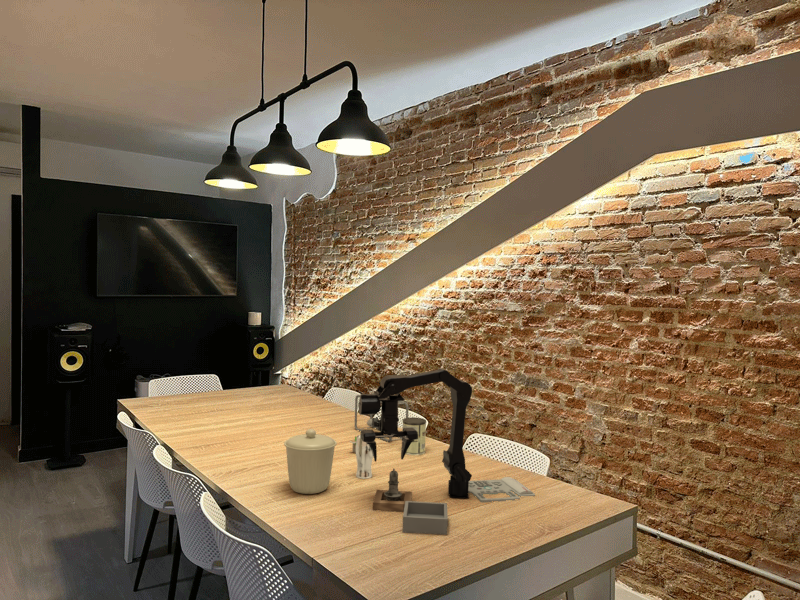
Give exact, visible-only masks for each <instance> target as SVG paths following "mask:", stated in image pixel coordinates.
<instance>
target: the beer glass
mask: <svg viewBox="0 0 800 600" xmlns="http://www.w3.org/2000/svg"><path fill="white" fill-rule="evenodd" d="M355 457H356V463H357V464H356V465H357V467H356V473H355V477H356V478H357V479H361V480H366V479H371V478H373V472H372V464H373V460H374V457H373V454H372V451H371V448H370V445H369V444H367V443H366V442H363V441H362V439H361V438H360V434H358V435H356V452H355Z"/></svg>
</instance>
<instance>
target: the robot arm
mask: <svg viewBox="0 0 800 600" xmlns="http://www.w3.org/2000/svg"><path fill="white" fill-rule="evenodd" d="M441 382H442V383H443V384H444V385H446V386H447V387H448V388H449V389H450V398H451V402H452V415H451V426H450V428H451V429H450V437H449V438H450V439H449V447H448V448H447V450H445V449H444V450H443V451H442V459H441V460H442V461H441V462H442V464H443V467H444V468H445V469H446V470H447V471H448V473H449V475H450V477H449V478H450V479H449V480H448V484H447V485H448V486H447V493H448V495H449V498H453V499H454V498H455V499H469V498H470V497H469V496H470V495H469V493H468V488H469V481H471V479H472V476H473V475H472V473H471V472H470V471H468V470H467V468H466V458H465V457H466V456H465V453H464V449H463V447H464V439H465V438H464V437H465V436H464V435H465V428H466V427H465V424H466V415H467V414H466V413H467V407H468V405H469V404H470V401H471V398H472V394H473V387H472V385H471V384H470V383H468V382H467V381H465V380H462V379H458V378H457V377H456V376H454V375H453V374H451V373H450V372H449V371H448V370H447V369H443V368H438V369H435V370H429V371H424V372H419V373H414V374H408V375H398V374H394V375H393V374H391V375H390V374H389V375H385V376H383V377H382V378H381V380H380V384H379V386H378V387H377V389H375V391H374V392H373V393H374V394H373V393H372V394H369V393H368V394H367V393H360V394H359V395H360V397H359V401H358V402H357V409H358V414H359V415H360V416H361V415H362V416H365V415H366V416H370V415H371V414H373V415H374V414H375V415H377V414H378V413H380V411H381V413H380V416H379V417H380V420H379V417H372V427H373V428H375V427H377V428H378V430H377V432H376V431H374V430H373V428H372V429H361V430H362V431H361V432H360V434H359V435H360V438H361V439H362V441H363V442H366V443H367V444H369V445H370V448H371V451H372V454H373V461H374V462H377V457H378V456H377V455H378V454H377V452H378V451H377V450H378V449H377V442H376V441H375V440H376V439H379V438H386V439H388V438H389V437H392V438H399V437H402V439H401V449H400V459H401V460H402V461H403V460H404V457H405V456H406V455H407V454H406V452H407V449H408V448H409V446H410V444H411V443H412V442H414V440H415V439H418V432H417V431H416V430H415V429H414V428H403V427H402V430H399V420H400V419H399V404H398V401H404V402H405V401H406V400H405V398H404V397H403V396H402V394H401V393H403V392H405V391H407V390H408V389H410V388H411V389H412V388H415V387H420V386H426V385H431V384H435V383H441ZM391 434H392V435H391ZM393 434H394V435H393Z"/></svg>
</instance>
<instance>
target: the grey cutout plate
mask: <svg viewBox="0 0 800 600" xmlns="http://www.w3.org/2000/svg"><path fill="white" fill-rule="evenodd" d="M511 491H512V492H511ZM513 492H514V493H513ZM469 493H472V494H473V495H472V494H471V495H472V496H474V497H475V496H476V497H477V498H478V499H479V500H478V499H477V498H476V497H475V498H476V499H477V500H478V501H479V502H480V503H494V501H498V502H507V501H506V500H512V501H516V500H515V499H521V498H522V497H521V496H533V497H535V496H536V494H535V493H534V492H533V491H532V490H530V489H529V488H528V487H526V486H525V485H524V484H523V483H521V481H518V480H517V478H513V477H510V476H504V477H502V478H499V479H481V480H480V479H479V480H470V481H469V488H468V494H469ZM498 493H503V494H505V493H506V494H505V495H507V496H508V495H509V496H510V497H509V496H508V497H494V498H493V497H491V498H488V497H486V496H485V495H483V494H489V495H499V494H498ZM516 494H517V495H518V496H517V495H516ZM519 496H520V497H519ZM492 501H493V502H492Z"/></svg>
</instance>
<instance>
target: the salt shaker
mask: <svg viewBox="0 0 800 600" xmlns="http://www.w3.org/2000/svg"><path fill="white" fill-rule="evenodd" d="M388 476H389V479H388V480H389V481H387V484H388V489H387V490H388V491H387V492H385V493H384V495H385V498H386V500H385V501H399V500H400V498H401V495H402V493H401V492H399V491H400V490H399V484H400V482H399V471H397V470H395V468H392V470H391V471H390V472H389V475H388Z"/></svg>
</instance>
